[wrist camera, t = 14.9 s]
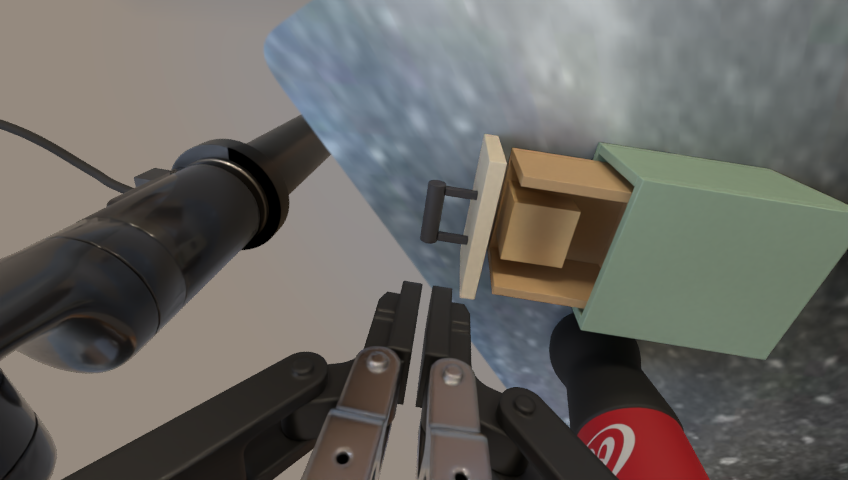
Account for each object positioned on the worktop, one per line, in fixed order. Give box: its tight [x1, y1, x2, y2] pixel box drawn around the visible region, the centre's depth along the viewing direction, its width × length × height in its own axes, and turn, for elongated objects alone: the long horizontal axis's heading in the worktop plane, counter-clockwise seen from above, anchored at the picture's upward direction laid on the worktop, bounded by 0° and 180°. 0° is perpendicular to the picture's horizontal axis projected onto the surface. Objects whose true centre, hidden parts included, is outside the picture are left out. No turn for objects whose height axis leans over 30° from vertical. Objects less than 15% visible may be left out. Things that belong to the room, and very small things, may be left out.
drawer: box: [420, 134, 635, 309], centre depth 33 cm, size 17×11×8 cm, turn 82°
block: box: [496, 180, 581, 268], centre depth 33 cm, size 5×5×5 cm
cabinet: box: [572, 142, 848, 360], centre depth 33 cm, size 15×13×10 cm
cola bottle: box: [549, 313, 710, 480], centre depth 30 cm, size 8×8×30 cm
